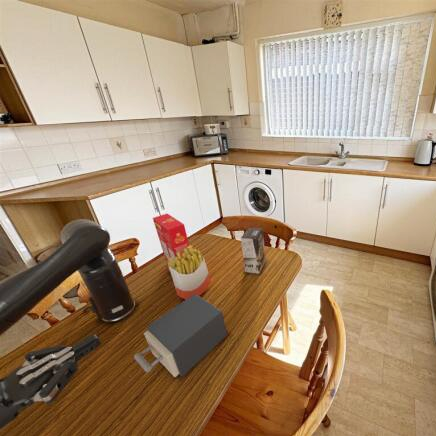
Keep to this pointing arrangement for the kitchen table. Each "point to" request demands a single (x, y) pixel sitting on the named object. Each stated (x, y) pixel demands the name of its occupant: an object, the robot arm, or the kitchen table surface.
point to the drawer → (157, 355)
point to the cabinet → (190, 331)
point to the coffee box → (253, 250)
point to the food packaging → (171, 236)
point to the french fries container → (189, 273)
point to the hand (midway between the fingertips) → (98, 339)
